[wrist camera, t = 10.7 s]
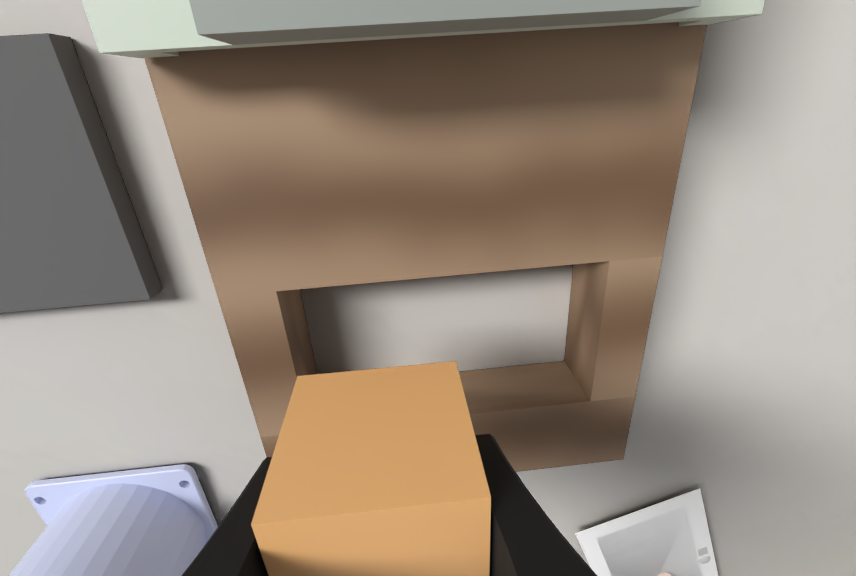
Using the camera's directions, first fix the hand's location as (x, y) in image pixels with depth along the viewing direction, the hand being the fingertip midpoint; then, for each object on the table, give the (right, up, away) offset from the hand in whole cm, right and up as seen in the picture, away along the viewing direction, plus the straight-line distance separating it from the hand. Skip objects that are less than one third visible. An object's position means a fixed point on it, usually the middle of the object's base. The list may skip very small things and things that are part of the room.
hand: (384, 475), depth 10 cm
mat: (-15, +8, +5) cm, 18 cm away
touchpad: (+17, -14, +20) cm, 29 cm away
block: (0, +1, +1) cm, 2 cm away
